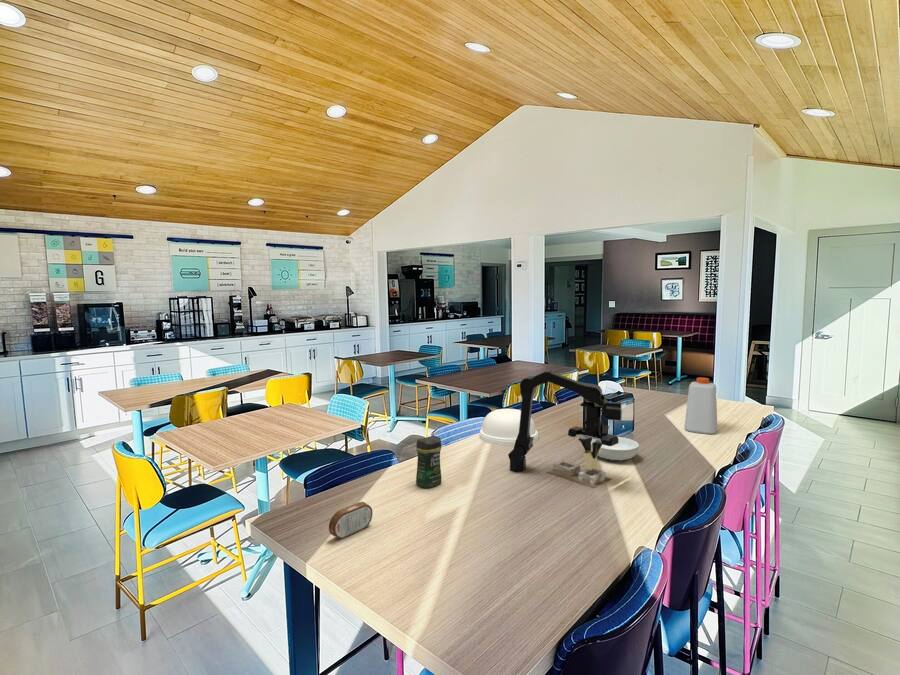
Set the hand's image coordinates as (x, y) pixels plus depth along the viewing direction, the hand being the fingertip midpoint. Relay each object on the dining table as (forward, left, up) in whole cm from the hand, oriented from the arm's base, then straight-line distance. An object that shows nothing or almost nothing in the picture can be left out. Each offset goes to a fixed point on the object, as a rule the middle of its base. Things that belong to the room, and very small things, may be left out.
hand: (592, 457), depth 188 cm
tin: (-89, +29, -10) cm, 94 cm away
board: (0, +6, -10) cm, 12 cm away
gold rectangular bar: (0, 0, -4) cm, 4 cm away
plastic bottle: (+106, -1, -10) cm, 106 cm away
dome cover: (+22, +61, -10) cm, 66 cm away
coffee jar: (-47, +42, -10) cm, 64 cm away
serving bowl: (+33, +9, -10) cm, 36 cm away
